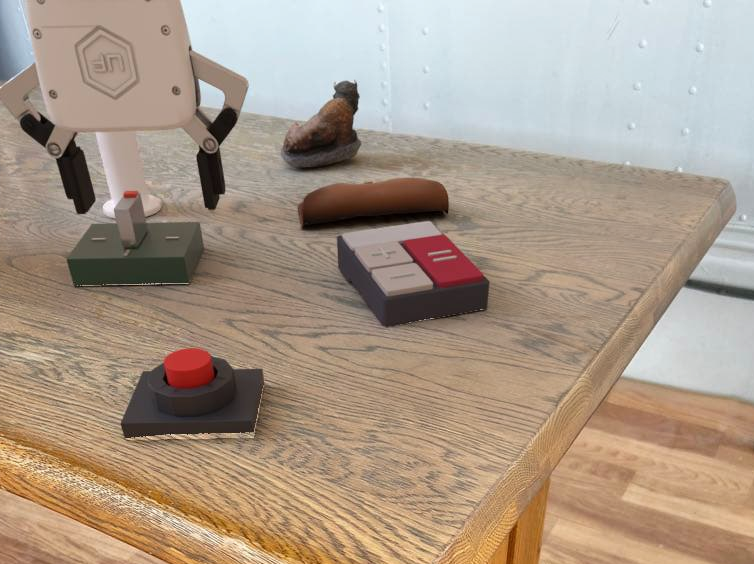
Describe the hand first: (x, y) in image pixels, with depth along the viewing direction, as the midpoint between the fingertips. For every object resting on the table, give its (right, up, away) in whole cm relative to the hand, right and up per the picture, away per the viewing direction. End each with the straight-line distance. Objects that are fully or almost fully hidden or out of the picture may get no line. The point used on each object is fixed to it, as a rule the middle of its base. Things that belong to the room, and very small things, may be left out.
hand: (150, 206), depth 62 cm
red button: (+3, -13, +2) cm, 13 cm away
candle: (-15, +16, +39) cm, 45 cm away
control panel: (-9, +4, +26) cm, 28 cm away
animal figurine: (+8, +28, +53) cm, 61 cm away
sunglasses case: (+15, +15, +38) cm, 43 cm away
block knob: (-9, +6, +24) cm, 26 cm away
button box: (+3, -15, +4) cm, 16 cm away
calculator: (+20, 0, +21) cm, 29 cm away
